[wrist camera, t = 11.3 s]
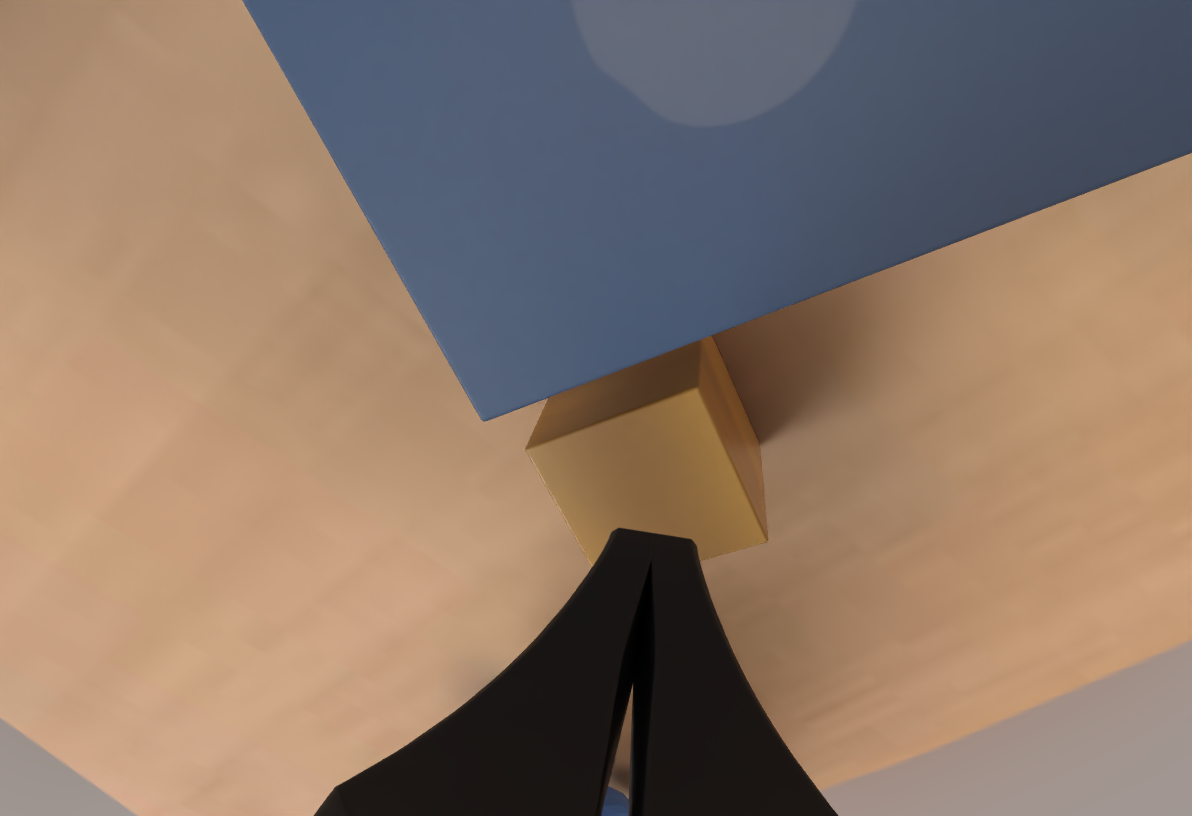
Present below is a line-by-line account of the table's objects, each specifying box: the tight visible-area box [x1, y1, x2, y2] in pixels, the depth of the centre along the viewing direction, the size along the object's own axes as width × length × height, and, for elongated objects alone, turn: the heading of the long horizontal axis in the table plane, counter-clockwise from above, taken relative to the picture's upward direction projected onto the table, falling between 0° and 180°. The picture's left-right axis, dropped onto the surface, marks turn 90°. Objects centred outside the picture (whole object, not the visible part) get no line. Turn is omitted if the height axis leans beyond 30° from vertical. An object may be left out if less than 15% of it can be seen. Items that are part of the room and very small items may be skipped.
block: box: [525, 336, 768, 567], centre depth 20 cm, size 4×4×5 cm
